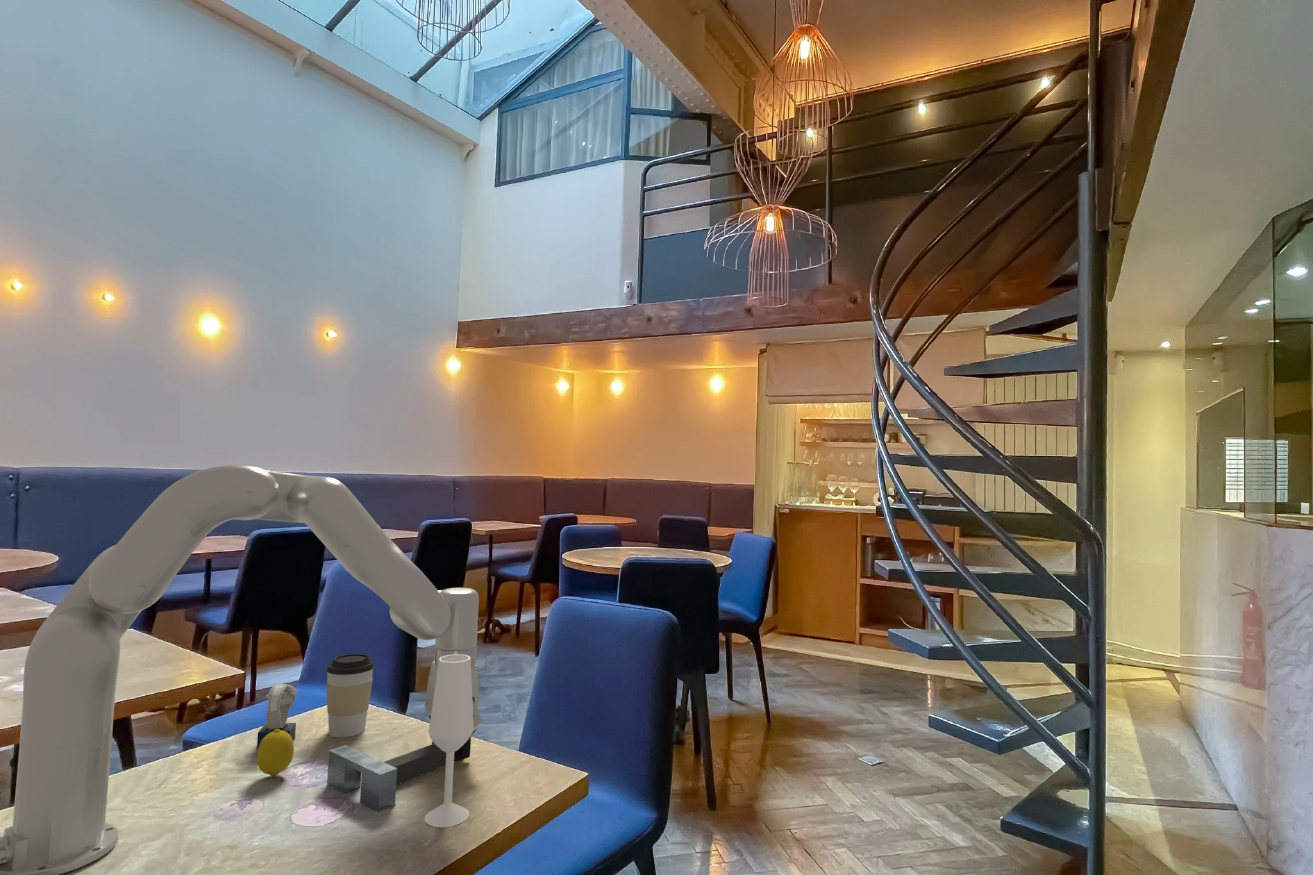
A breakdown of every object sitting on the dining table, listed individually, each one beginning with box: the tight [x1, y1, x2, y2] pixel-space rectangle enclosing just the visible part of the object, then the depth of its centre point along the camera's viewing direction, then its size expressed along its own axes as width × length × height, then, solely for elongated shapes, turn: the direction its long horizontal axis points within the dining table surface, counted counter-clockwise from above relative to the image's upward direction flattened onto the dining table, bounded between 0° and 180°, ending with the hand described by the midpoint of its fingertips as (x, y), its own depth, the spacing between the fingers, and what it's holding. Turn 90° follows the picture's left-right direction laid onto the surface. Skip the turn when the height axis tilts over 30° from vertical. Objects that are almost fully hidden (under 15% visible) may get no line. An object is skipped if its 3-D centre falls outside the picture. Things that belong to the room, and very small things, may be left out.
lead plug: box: [383, 744, 457, 786], centre depth 119 cm, size 16×3×3 cm, turn 145°
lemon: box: [256, 729, 295, 778], centre depth 115 cm, size 6×6×8 cm
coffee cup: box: [325, 653, 375, 738], centre depth 137 cm, size 9×9×15 cm
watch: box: [256, 683, 298, 750], centre depth 129 cm, size 6×8×11 cm
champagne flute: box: [424, 654, 474, 828], centre depth 104 cm, size 7×7×24 cm
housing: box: [326, 744, 397, 813], centre depth 110 cm, size 3×15×6 cm, turn 55°
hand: (450, 753), depth 125 cm, fingers open, 5 cm apart
